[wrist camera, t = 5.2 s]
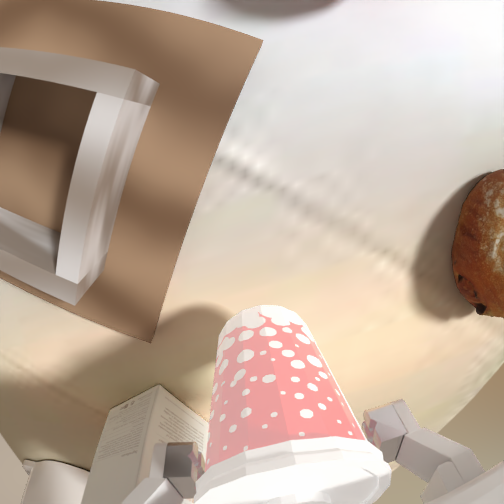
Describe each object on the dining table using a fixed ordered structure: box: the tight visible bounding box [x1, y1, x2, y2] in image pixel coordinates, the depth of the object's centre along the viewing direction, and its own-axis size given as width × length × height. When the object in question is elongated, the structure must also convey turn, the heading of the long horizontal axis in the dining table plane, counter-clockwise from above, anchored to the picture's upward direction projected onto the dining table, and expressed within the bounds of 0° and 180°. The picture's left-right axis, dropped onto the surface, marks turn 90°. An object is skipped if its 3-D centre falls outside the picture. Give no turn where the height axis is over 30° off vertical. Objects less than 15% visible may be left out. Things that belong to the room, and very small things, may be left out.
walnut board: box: [0, 0, 263, 343], centre depth 13 cm, size 18×18×5 cm
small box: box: [81, 385, 209, 504], centre depth 17 cm, size 8×6×13 cm
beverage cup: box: [194, 305, 392, 504], centre depth 9 cm, size 6×6×14 cm
